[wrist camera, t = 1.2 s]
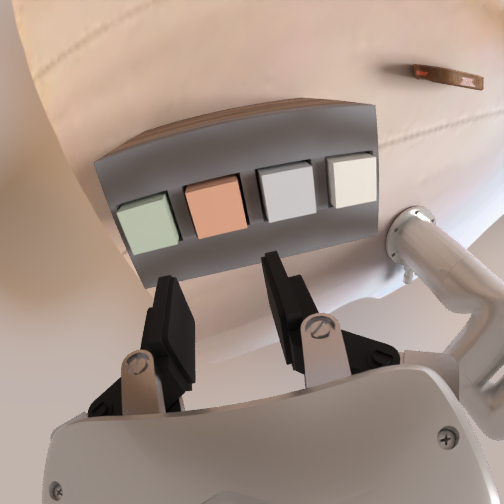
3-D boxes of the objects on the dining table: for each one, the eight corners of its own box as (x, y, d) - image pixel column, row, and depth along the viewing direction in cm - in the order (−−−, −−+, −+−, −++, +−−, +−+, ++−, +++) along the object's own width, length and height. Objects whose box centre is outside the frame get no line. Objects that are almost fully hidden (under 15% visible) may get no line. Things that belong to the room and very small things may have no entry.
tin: (459, 72, 33) (492, 76, 25) (461, 87, 34) (493, 93, 27) (402, 62, 32) (437, 62, 25) (405, 80, 34) (439, 83, 27)
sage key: (180, 230, 23) (177, 244, 21) (139, 240, 23) (133, 255, 21) (167, 188, 21) (162, 199, 19) (124, 201, 21) (116, 212, 19)
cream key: (363, 190, 24) (376, 200, 22) (325, 198, 24) (336, 208, 22) (361, 150, 22) (376, 157, 20) (321, 155, 22) (333, 162, 20)
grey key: (307, 201, 24) (316, 212, 22) (263, 210, 24) (269, 222, 22) (302, 158, 22) (312, 166, 20) (255, 167, 22) (261, 175, 20)
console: (312, 176, 41) (377, 235, 25) (168, 208, 40) (145, 288, 24) (302, 97, 35) (375, 105, 18) (145, 131, 34) (93, 162, 18)
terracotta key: (243, 215, 24) (247, 227, 22) (199, 225, 23) (198, 239, 21) (234, 172, 22) (237, 180, 19) (187, 183, 21) (185, 193, 19)
